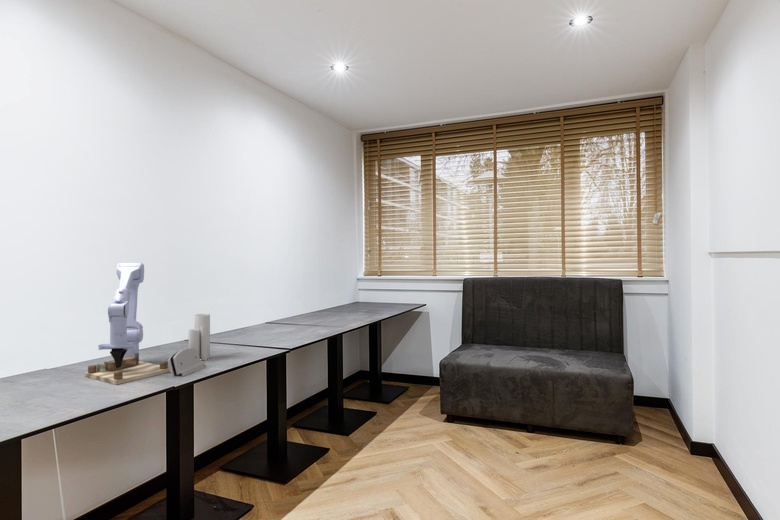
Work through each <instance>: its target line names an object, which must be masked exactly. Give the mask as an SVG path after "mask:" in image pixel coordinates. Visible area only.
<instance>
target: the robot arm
mask: <svg viewBox="0 0 780 520" xmlns="http://www.w3.org/2000/svg"><path fill="white" fill-rule="evenodd" d="M116 275H117V277H118V280H119V287H118V288H117V289H116V290H115V291H114V294H113V297H112V298H113V299H112V301H111V304H109V305H108V306H107V316H108V323H109V337H110V338H109V342H110V343H102V344H98V350H99V351H102V350H110V351H109V354H110V355H111V357H112V359H113V360H114V361H115V363H116V368H120V367H121V365H122V360H123V359H124V358H129V357H134V354H135V353H139V354H140V350H139V349H140V343H141V342H142V341H143V339H144V329H143V328H144V327H143V325H142V323H140V322H139V321H137V312H138V311H137V309H138V295H139V293H138V292H139V286H140V284H141V283H143V282H144V279H145V264H144V263H143V262H118V264H117V265H116Z"/></svg>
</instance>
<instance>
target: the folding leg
mask: <svg viewBox="0 0 780 520" xmlns="http://www.w3.org/2000/svg"><path fill="white" fill-rule="evenodd" d="M110 361H111V360H110ZM105 364H106V371H113V370H117V369H121V368H125V367H129V366H133V365H136V357H129V358H124V359H123V360H122V365H121V367H120V368H116V363H115V361H111V362H107V363H105Z"/></svg>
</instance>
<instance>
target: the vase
mask: <svg viewBox="0 0 780 520" xmlns="http://www.w3.org/2000/svg"><path fill="white" fill-rule="evenodd" d="M188 349H196V350H197V353H198V355H199V357H200V359H201V360H205V361H208V359H210V358H211V314H210V313H196V314H194V328H193V329H189V330H188ZM207 358H208V359H207Z"/></svg>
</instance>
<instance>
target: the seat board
mask: <svg viewBox="0 0 780 520" xmlns="http://www.w3.org/2000/svg"><path fill="white" fill-rule="evenodd" d="M134 357H136V365H133V366H129V367H125V368H121V369H117V370H113V371H106V364H105V363H107V362H111V361H114V359H112V360H107V361H103V363H101V362H99V363H96V364H91V365H88V366H87V372H84V377H86V378H90V379H94V380H97V381H100V382H101V381H102V382H104V383H107V384H111V385H115V386H116V385H120V384H125V383H129V382H133V381H138V380H142V379H145V378H146V379H147V378H151V377H154V376H159V375H163V374H168V373H171V371H170V367H169V363H168V360H167V361H166V360H165V361H160V362H159V364H155V363H150V362H145V361H142V360H141V361H140V352H139V353H135V354H134Z"/></svg>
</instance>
